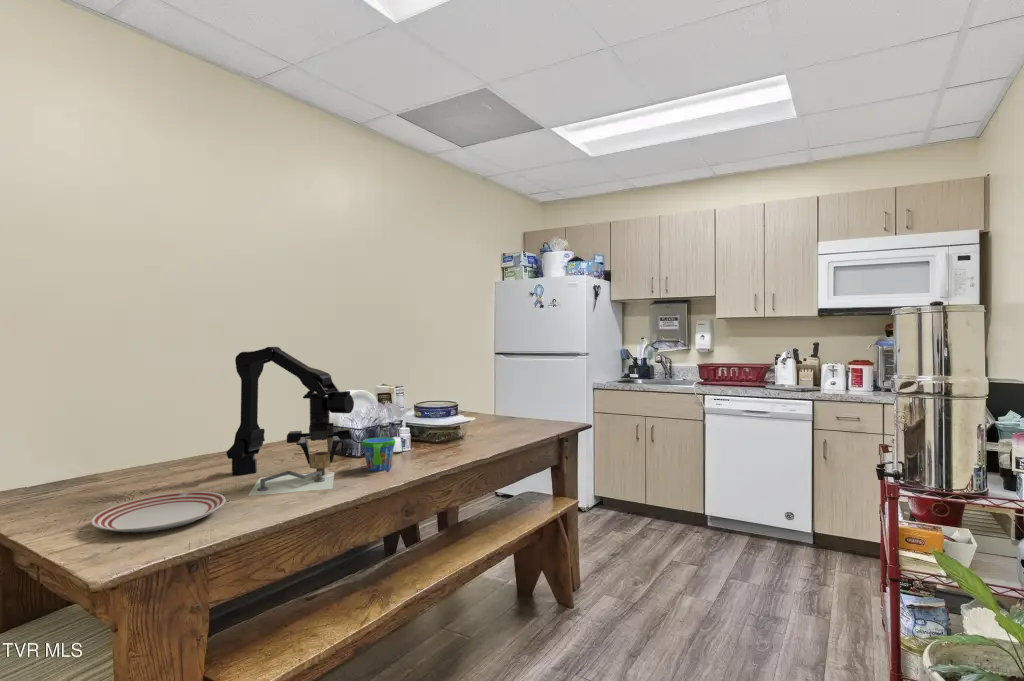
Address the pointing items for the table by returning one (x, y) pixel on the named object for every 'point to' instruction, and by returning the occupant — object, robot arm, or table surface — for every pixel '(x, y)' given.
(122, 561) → the table surface
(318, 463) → the ring
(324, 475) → the peg stand
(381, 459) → the snack cup
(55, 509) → the table surface
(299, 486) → the wire course
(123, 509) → the dinner plate
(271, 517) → the table surface
